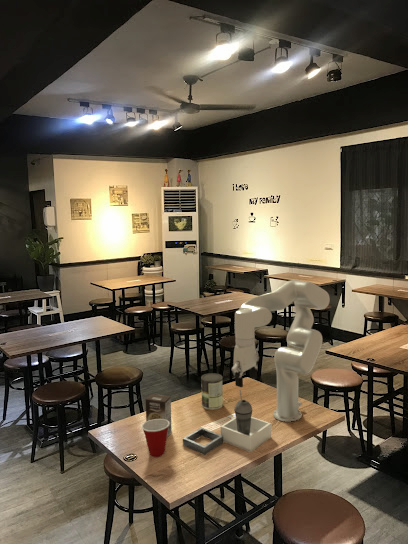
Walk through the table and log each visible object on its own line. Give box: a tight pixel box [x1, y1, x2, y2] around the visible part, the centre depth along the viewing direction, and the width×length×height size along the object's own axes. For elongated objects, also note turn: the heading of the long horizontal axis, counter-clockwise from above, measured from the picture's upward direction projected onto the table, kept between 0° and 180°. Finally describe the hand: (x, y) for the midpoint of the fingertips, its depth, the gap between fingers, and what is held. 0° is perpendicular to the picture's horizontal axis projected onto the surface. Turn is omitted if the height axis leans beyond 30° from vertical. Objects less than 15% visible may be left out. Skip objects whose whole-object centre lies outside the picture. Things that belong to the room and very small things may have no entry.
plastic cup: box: [141, 419, 170, 458], centre depth 168 cm, size 11×11×12 cm
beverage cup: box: [233, 389, 253, 436], centre depth 176 cm, size 7×7×20 cm
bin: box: [220, 416, 272, 453], centre depth 178 cm, size 15×15×6 cm
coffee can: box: [200, 372, 224, 411], centre depth 209 cm, size 10×10×14 cm
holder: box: [182, 427, 224, 456], centre depth 174 cm, size 11×11×3 cm
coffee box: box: [145, 393, 173, 438], centre depth 183 cm, size 9×6×16 cm
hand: (246, 382), depth 175 cm, fingers open, 9 cm apart
